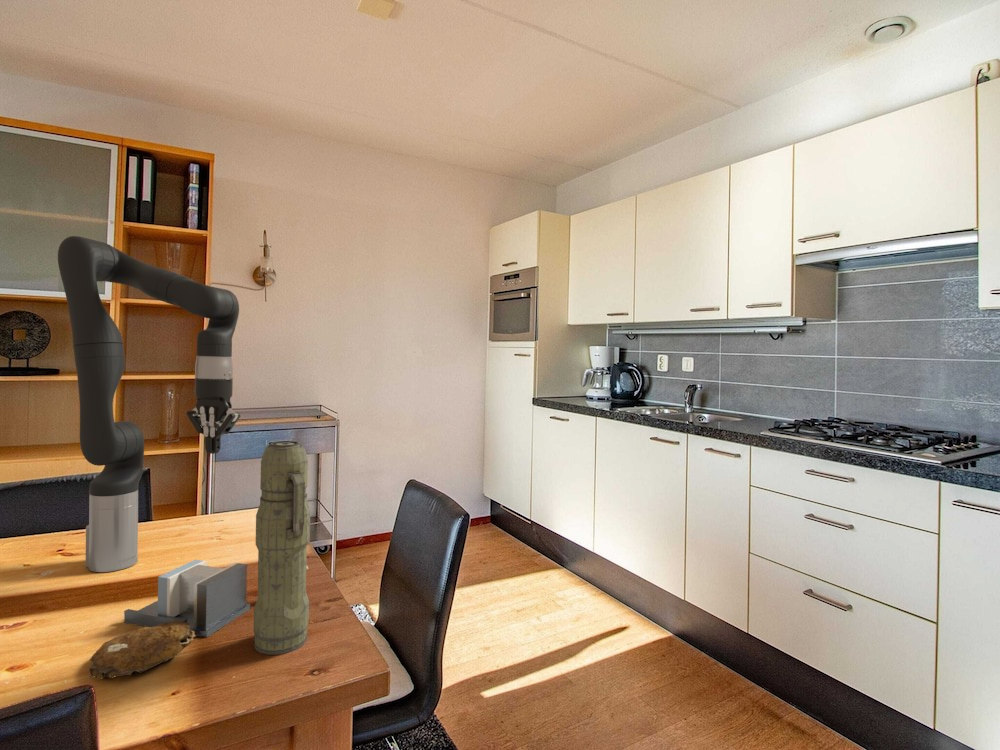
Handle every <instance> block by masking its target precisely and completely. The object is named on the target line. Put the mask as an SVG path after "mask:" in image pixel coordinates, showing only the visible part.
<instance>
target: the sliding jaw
mask: <svg viewBox="0 0 1000 750" xmlns="http://www.w3.org/2000/svg"><path fill="white" fill-rule="evenodd" d="M196 565H204V566H208V564H207V560H201V559H194V560H191V561H190V562H187V563H185V564H182V565H180V566H179V567H176V568H174V569H172V570H169V571H168V572H166V573H165V572H164V574H161V575H159V576H157V601H158V614H160V615H166V616H172V617H175V616H177V615H178V614H179V592H180V573H182V572H184V571H186V570H188V569H190V568H192V567H194V566H196Z"/></svg>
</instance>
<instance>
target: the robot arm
mask: <svg viewBox="0 0 1000 750" xmlns="http://www.w3.org/2000/svg"><path fill="white" fill-rule="evenodd" d="M57 266H58V269H59V273H60V278H61V283H62V286H63V290H64V294H65V297H66V302H67V308H68V314H69V322H70V328H71V336H72V346H73V347H72V348H73V349H72V350H73V355H74V363H75V369H76V375H77V377H76V378H77V386H78V397H79V399H78V400H79V444H80V450H81V453H82V456H83V458H85V460H86V461H87V462H88V463H89V464H91V465H94V466H98V467H99V466H100V467H102V466H104V467H103V469H102V470H101V471H100V473H99V474H98V475H97V476H96V477H94V478H93V479H92V480H91V481H90V483H89V492H88V493H89V495H88V496H89V499H88V501H89V502H88V504H89V505H88V506H89V509H88V511H89V515H88V519H89V520H88V521H89V522H88V525H86V526H85V568H88V570H89V571H91V572H96V573H106V572H107V573H110V572H115V571H120V570H121V571H122V570H124V569H127V568H130V567H132V566H134V565H135V564H136V563H138V551H139V548H138V546H139V545H138V544H139V543H138V540H139V535H138V534H139V483H140V482H141V481H140V480H141V479H142V475H143V472H144V470H143V469H144V457H145V438H144V434H143V432H142V429H141V428H140V427H139V425H137V424H136V423H134V422H132V421H129V420H128V421H127V420H121V421H115V418H114V417H115V416H114V403H113V402H114V398H115V394H116V390H117V388H118V386H119V384H120V382H121V380H122V377H123V374H124V371H125V369H126V354H125V348H124V347H125V346H124V341H123V336H122V333H121V331H120V329H119V327H118V326H117V324H116V323H115V321H114V319H113V318H112V316H111V315H110V314H109V312H108V311H107V309H106V307H105V306H104V304H103V301H102V299H101V297H100V293H99V287H98V282H106V283H107V282H108V283H112V284H113V283H115V284H120V285H125V286H129V287H132V288H134V289H136V290H139V291H141V292H142V293H143V294H145V295H147V296H149V297H151V298H153V299H156V300H157V301H160V302H164V303H166V304H169V305H172V306H175V307H179V308H181V310H182V309H183V310H184V311H187V312H188V313H190V314H193V315H194V316H198V317H201V318H204V319H205V318H206V319H209V320H208V323H207V326H206V329H202V330H199V332H198V333H197V337H196V358H195V359H196V360H195V365H194V397H195V398H196V403H195V407H194V408H193V409H191V410H188V411H186V416H187V417H188V419H189V421H190V422H191V423H192V426H193V428H194V429H195V430H196V432H197V433H198V434H202V435H203V437H204V440H205V443H204V444H205V446H204V447H205V448H204V449H205V452H206V454H211V455H212V454H213V455H214V454H218V453H219V452H220V451H221V441H222V440H221V439H222V438H221V437H222V436H224V435H228V434H229V433H230V432H231V430H232V429H233V427H234V426H235V425H236V423H238V420H240V417H241V413H239V412H235V410H233V406H232V402H231V398H232V397H233V386H234V382H233V381H234V380H233V379H234V378H233V377H234V376H233V375H234V367H233V356H232V354H233V350H232V349H233V337H234V336H233V335H234V334H235V330H236V326H237V322H238V319H239V314H240V304H239V300H238V298H237V295H235V293H233V291H231V290H229V289H225V288H219V287H215V286H211V285H207V284H204V283H200V282H197V281H195V280H193V279H192V278H190V277H187V276H185V275H182V274H179V273H177V272H174V271H172V270H168V269H164V268H161V267H158V266H154V265H150V264H148V263H146V262H142V261H141V260H138V259H136V258H133V257H132V256H130V255H128V254H126V253H125V252H123V251H121V250H120V249H118V248H116V247H114V246H113V245H111V244H108V243H106V242H103V241H100V240H95V239H92V238H91V239H90V238H87V237H84V236H78V235H71V236H68V237H66V238H64V239H62V241H61V242H60V244H59V246H58V250H57Z"/></svg>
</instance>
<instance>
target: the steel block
mask: <svg viewBox="0 0 1000 750" xmlns="http://www.w3.org/2000/svg"><path fill="white" fill-rule="evenodd" d="M224 568H225V567H217V566H210V565H207V566H204V565H196V566H194V567H192V568H190V569H188V570H186V571H184V572H182V573H180V592H179V616H184V617H190V618H194V584H195V583H197V582H199V581H201V580H203V579H205V578H207V577H209V576H211V575H213V574H215V573H217V572H218V571H220V570H222V569H224Z"/></svg>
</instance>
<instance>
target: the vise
mask: <svg viewBox="0 0 1000 750" xmlns="http://www.w3.org/2000/svg"><path fill="white" fill-rule="evenodd" d="M223 568H224V569H222V570H220V571H218V572H217V573H215V574H213V575H211V576H209V577H207V578H205V579H203V580H201V581H199V582H197V583H195V584H194V618H190V617H184V616H179V614H178V615H177V616H175V617H172V616H166V615H160V614H158V600H155V601H154V602H152V603H150V604H148V605H145V606H144V607H142V608H140V609H138V610H135V609H130V608H128V609H125V610H124V613H123V615H124V616H123V618H124V619H123V623H124V624H127V625H129V624H130V625H133V626H134V625H135V626H139V627H145V626H146V627H154V626H156V625H160V624H163V623H167V622H173V621H179V622H184V623H189V626H190V629H191V630H193V631H194V635H195V636H196V637H202V636H204V637H203V638H208V637H210V636H211V635H213V634H215V633H216V632H217V630H218V631H219V630H221V629H222V628H224V627H225V626H226V625H229V623H231V622H233V621H234V620H236V619H237V618H239V617H240V616H242V615H243V614H245V613H246V612H248V611H249V610H251V603H247V582H248V581H247V579H248V576H247V575H248V564H247V563H240V562H234V563H232V564H231V565H229V566H226V567H223ZM214 632H215V633H214Z"/></svg>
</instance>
